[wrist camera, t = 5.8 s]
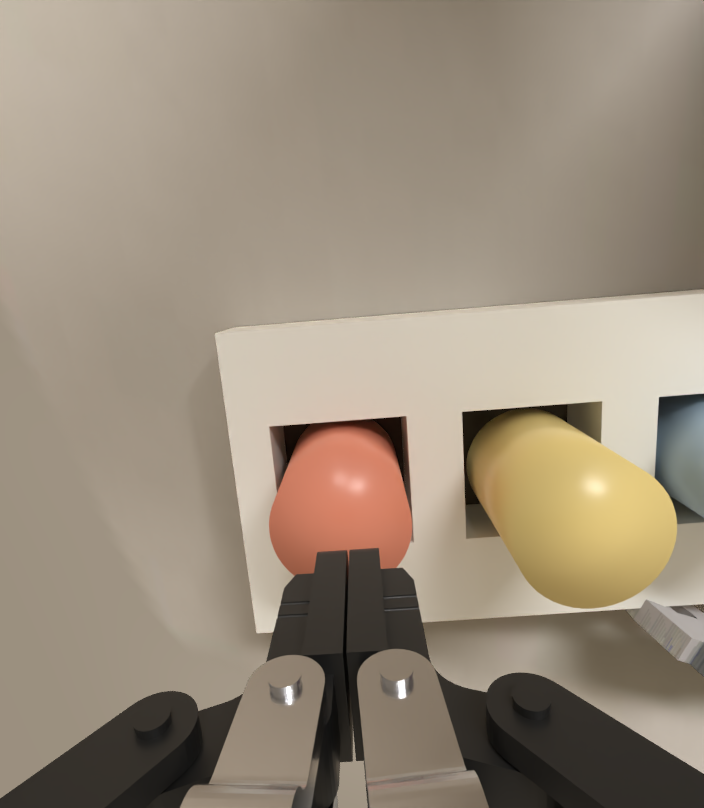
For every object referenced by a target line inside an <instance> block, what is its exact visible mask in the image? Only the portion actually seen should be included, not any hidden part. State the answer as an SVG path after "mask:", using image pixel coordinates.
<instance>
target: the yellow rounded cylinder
mask: <svg viewBox="0 0 704 808" xmlns="http://www.w3.org/2000/svg"><path fill="white" fill-rule="evenodd" d="M467 475H468V479H469V482H470V485H471V487H472V489H473V491H474V493H475V494H476V496H477V498H478V499H479V501H480V503H481V504H482V506H483V508H484V510H485V511H486V513H487V515H488V516H489V518H490V520H491V521H492V523H493V525H494V527H495V528H496V530H497V532H498V533H499V535H500V537H501V538H502V540H503V542H504V543H505V545H506V547H507V549H508V550H509V552H510V554H511V555H512V557H513V559H514V560H515V562H516V564H517V566H518V567H519V569H520V571H521V572H522V574H523V576H524V577H525V579H526V580H527V581H528V583H529V584H530V585H531V586H532V587H533V588H534V589H535V590H536V591H537V592H538V593H540V594H541V595H543V596H544V597H545V598H547V599H549V600H551V601H553V602H556V603H558V604H561V605H564V606H568V607H573V608H581V609H594V608H602V607H607V606H611V605H615V604H617V603H620V602H623V601H625V600H627V599H629V598H631V597H633V596H635V595H636V594H638V593H640V592H641V591H643V590H644V589H645V588H646V587H648V586H649V585H650V584H651V583H652V582H653V581H654V580H655V579H656V578H657V577H658V576H659V574H660V573H661V572H662V570H663V569H664V568H665V566H666V564H667V563H668V561H669V559H670V557H671V554H672V552H673V549H674V545H675V542H676V535H677V518H676V512H675V509H674V506H673V503H672V501H671V499H670V497H669V495H668V493H667V492H666V490H665V489H664V487H663V486H662V485H661V484H660V483H659V482H658V481H657V480H656V479H655V478H654V477H653V476H651V475H650V474H649V473H647V472H646V471H644V470H642V469H641V468H639V467H638V466H636V465H634V464H633V463H631V462H630V461H628V460H626V459H625V458H623V457H621V456H620V455H618V454H617V453H615V452H613V451H612V450H610V449H609V448H607V447H605V446H604V445H602V444H601V443H599V442H597V441H596V440H594V439H593V438H591V437H589V436H588V435H586V434H585V433H583V432H581V431H580V430H578V429H576V428H575V427H573V426H572V425H570V424H568V423H567V422H565V421H564V420H562V419H560V418H559V417H557V416H555V415H554V414H552V413H549V412H547V411H544V410H540V409H533V408H522V409H515V410H511V411H508V412H505V413H503V414H500V415H499V416H497V417H495V418H493V419H492V420H491V421H489V422H488V423H487V424H486V425H485V426H484V427H482V429H481V430H480V431H479V432H478V433H477V435H476V436H475V438H474V440H473V442H472V444H471V446H470V449H469V452H468V456H467Z"/></svg>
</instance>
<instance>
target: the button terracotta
mask: <svg viewBox="0 0 704 808" xmlns="http://www.w3.org/2000/svg"><path fill="white" fill-rule="evenodd" d="M269 533H270V538H271V543H272V545H273V548H274V551H275V553H276V555H277V557H278V558H279V560H280V561H281V563H282V564H283V565H284V566H285V567H286V569H287V570H288V571H289V572H290V573H292V574H293V575H294V576H295V575H296V574H310V573H314V569H315V562H316V556H317V552H323V551H339V550H347V552H348V561H349V550H352V549H368V548H379V555H380V567H381V569H388V568H396V567H397V566H398V565H399V564H400V563H401V561H402V559H403V558H404V556H405V554H406V552H407V550H408V548H409V544H410V541H411V535H412V517H411V512H410V508H409V504H408V500H407V496H406V492H405V488H404V484H403V479H402V475H401V471H400V467H399V463H398V459H397V455H396V451H395V448H394V445H393V442H392V440H391V438H390V437H389V435H388V434H387V432H386V431H385V430H384V429H383V428H382V427H381V426H380V425H379V424H378V423H376V422H375V421H373V420H372V419H362V420H349V421H336V422H323V423H312V424H311V425H309V426H308V427H307V428H306V429H305V430H304V432H303V433H302V434H301V436H300V438H299V439H298V441H297V444H296V446H295V449H294V451H293V454H292V456H291V459H290V462H289V464H288V467H287V469H286V472H285V474H284V477H283V479H282V482H281V485H280V487H279V490H278V492H277V495H276V497H275V500H274V502H273V505H272V508H271V512H270V518H269Z"/></svg>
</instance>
